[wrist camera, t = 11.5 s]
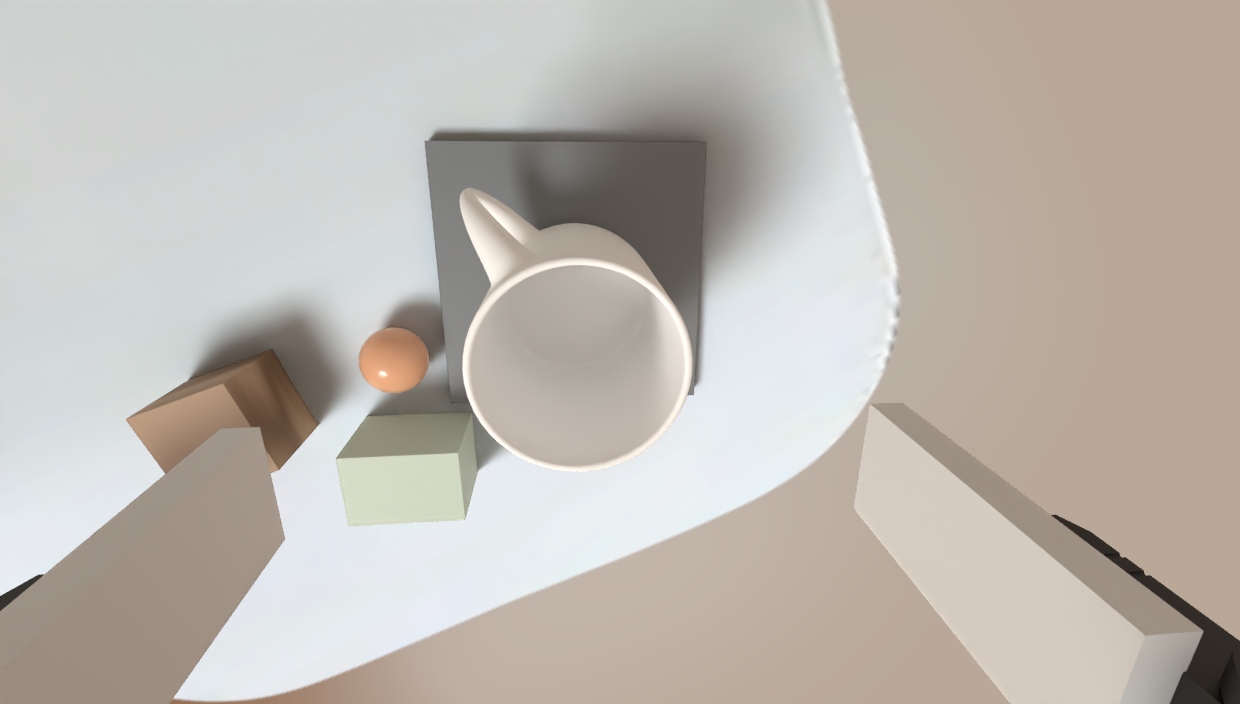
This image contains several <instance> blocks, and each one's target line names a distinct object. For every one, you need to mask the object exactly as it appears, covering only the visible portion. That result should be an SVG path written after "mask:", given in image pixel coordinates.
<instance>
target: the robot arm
mask: <svg viewBox="0 0 1240 704" xmlns="http://www.w3.org/2000/svg"><path fill="white" fill-rule="evenodd" d="M854 509H855V511H856V512H857V513H858V514H859V516H860V517H861V518H862V519H863V521H864V522H865V523H866V524H867V526H868V527H869V528H870V529H871V530H872V532H873V533H874V534H875V536H876V537H877V538H878V539H879V541H880V542H881V543H882V544H883V545H884V547H885V548H886V549H887V551H888V552H889V553H890V554H891V555H892V557H893V558H894V559H895V560H896V562H897V563H898V564H899V566H900V567H901V568H902V569H903V570H904V572H905V573H906V574H907V575H908V577H909V578H910V579H911V580H912V582H913V583H914V584H915V585H916V587H917V588H918V589H919V590H920V591H921V593H922V594H923V595H924V597H925V598H926V599H927V600H928V602H929V603H930V604H931V605H932V607H933V608H934V609H935V610H936V612H937V613H938V614H939V615H940V617H941V618H942V619H943V620H944V622H945V623H946V624H947V625H948V627H949V628H950V629H951V630H952V632H953V633H954V634H955V635H956V637H957V638H958V639H959V640H960V642H961V643H962V644H963V645H964V646H965V648H966V649H967V650H968V652H969V653H970V654H971V655H972V657H973V658H974V659H975V660H976V662H977V663H978V664H979V665H980V667H981V668H982V669H983V670H984V672H985V673H986V674H987V675H988V676H989V678H990V679H991V680H992V681H993V683H994V684H995V685H996V686H997V687H998V689H999V690H1000V691H1001V693H1002V694H1003V695H1004V696H1005V698H1006V699H1007V700H1008V701H1009V703H1010V704H1240V641H1239V640H1238V639H1236V638H1235V637H1234V636H1232V635H1231V634H1229V633H1228V632H1227V631H1225V630H1224V629H1223V628H1221V627H1220V626H1218V625H1217V624H1216V623H1214V622H1213V621H1212V620H1210V619H1209V618H1208V617H1206V616H1205V615H1203V614H1202V613H1201V612H1199V611H1198V610H1197V609H1195V608H1194V607H1193V606H1191V605H1190V604H1188V603H1187V602H1186V601H1184V600H1183V599H1181V598H1180V597H1179V596H1178V595H1176V594H1175V593H1173V592H1172V591H1171V590H1169V589H1168V588H1167V587H1165V586H1164V585H1163V584H1161V583H1160V582H1158V581H1157V580H1156V579H1154V578H1153V577H1152V576H1146V575H1145V574H1144V571H1143V570H1142V569H1141V568H1139V567H1138V566H1137V565H1135V564H1134V563H1132V562H1131V561H1130V560H1128V559H1127V558H1126V557H1125V558H1121V557H1120V554H1119V552H1117V551H1116V550H1115V549H1113V548H1112V547H1111V546H1109V545H1108V544H1106V543H1105V542H1104V541H1102V540H1101V539H1100V538H1098V537H1097V536H1095V535H1094V534H1093V533H1091V532H1090V531H1088V530H1086V529H1084V528H1082V527H1080V526H1078V525H1076V524H1073V523H1071V522H1069V521H1067V520H1065V519H1063V518H1061V517H1059V516H1057V515H1050V514H1049V513H1047V512H1046V511H1044V510H1043V509H1042V508H1041V507H1039V506H1038V505H1037V504H1035V503H1034V502H1033V501H1031V500H1030V499H1028V498H1027V497H1026V496H1024V495H1023V494H1022V493H1021V492H1020V491H1018V490H1017V489H1016V488H1014V487H1013V486H1011V485H1010V484H1009V483H1007V482H1006V481H1005V480H1004V479H1002V478H1001V477H1000V476H998V475H997V474H996V473H994V472H993V471H992V470H990V469H989V468H988V467H987V466H985V465H984V464H983V463H981V462H980V461H978V460H977V459H976V458H975V457H973V456H972V455H971V454H969V453H968V452H967V451H965V450H964V449H963V448H962V447H960V446H959V445H957V444H956V443H955V442H954V441H952V440H951V439H950V438H948V437H947V436H946V435H944V434H943V433H942V432H940V431H939V430H938V429H936V428H935V427H934V426H932V425H931V424H930V423H929V422H927V421H926V420H924V419H923V418H922V417H921V416H919V415H918V414H917V413H915V412H914V411H913V410H911V409H910V408H909V407H907V406H906V405H905V404H903V403H885V404H870V409H869V415H868V421H867V427H866V434H865V440H864V447H863V452H862V459H861V465H860V471H859V478H858V484H857V490H856V496H855V503H854ZM284 540H285V536H284V532H283V528H282V523H281V519H280V514H279V510H278V505H277V501H276V497H275V492H274V488H273V483H272V479H271V474H270V470H269V465H268V461H267V457H266V452H265V448H264V443H263V439H262V434H261V430H260V427H248V428H221V429H219V430H218V431H217V432H216V433H215V434H213V435H212V436H211V437H210V438H209V439H207V440H206V441H205V442H204V443H203V444H201V445H200V446H199V447H198V448H197V449H195V450H194V451H193V452H192V453H190V454H189V455H188V456H187V457H186V458H184V459H183V460H182V461H181V462H180V463H178V464H177V465H176V466H175V467H174V468H172V469H171V470H170V471H169V472H168V473H166V474H165V475H164V476H163V477H162V478H160V479H159V480H158V481H157V482H156V483H154V484H153V485H152V486H151V487H149V488H148V489H147V490H146V491H145V492H143V493H142V494H141V495H140V496H139V497H137V498H136V499H135V500H134V501H133V502H131V503H130V504H129V505H128V506H127V507H125V508H124V509H123V510H122V511H121V512H119V513H118V514H117V515H116V516H115V517H113V518H112V519H111V520H110V521H109V522H107V523H106V524H105V525H104V526H102V527H101V528H100V529H99V530H98V531H96V532H95V533H94V534H93V535H92V536H90V537H89V538H88V539H87V540H86V541H84V542H83V543H82V544H81V545H80V546H78V547H77V548H76V549H75V550H74V551H72V552H71V553H70V554H69V555H68V556H66V557H65V558H64V559H63V560H61V561H60V562H59V563H58V564H57V565H55V566H54V567H53V568H52V569H51V570H49V571H48V572H47V573H46V574H44V575H37V576H35V577H34V578H32V579H30V580H28V581H26V582H25V583H23V584H21V585H19V586H17V587H16V588H14V589H12V590H10V591H9V592H7V593H5V594H3V595H1V596H0V704H169V703H170V702H171V700H172V699H173V697H174V696H175V695H176V693H177V692H178V690H179V689H180V687H181V686H182V685H183V683H184V682H185V680H186V679H187V678H188V676H189V675H190V673H191V672H192V670H193V669H194V668H195V666H196V665H197V663H198V662H199V660H200V659H201V658H202V656H203V655H204V653H205V652H206V651H207V649H208V648H209V646H210V645H211V643H212V642H213V641H214V639H215V638H216V636H217V635H218V633H219V632H220V631H221V629H222V628H223V626H224V625H225V624H226V622H227V621H228V619H229V618H230V616H231V615H232V614H233V612H234V611H235V609H236V608H237V607H238V605H239V604H240V602H241V601H242V599H243V598H244V597H245V595H246V594H247V592H248V591H249V589H250V588H251V587H252V585H253V584H254V582H255V581H256V580H257V578H258V577H259V575H260V574H261V572H262V571H263V570H264V568H265V567H266V565H267V564H268V562H269V561H270V560H271V558H272V557H273V555H274V554H275V553H276V551H277V550H278V548H279V547H280V545H281V544H282V543H283V541H284Z"/></svg>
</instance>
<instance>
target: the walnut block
mask: <svg viewBox="0 0 1240 704" xmlns="http://www.w3.org/2000/svg"><path fill="white" fill-rule="evenodd" d="M126 421H127V422H128V424H129V425H130V426H131V428H132V429H133V430H134V432H135V433H136V434H137V436H138V437H139V438H140V440H141V441H142V443H143V444H144V445H145V447H146V448H147V449H148V451H149V452H150V453H151V455H152V456H153V457H154V459H155V460H156V461H157V463H158V464H159V466H160V467H161V468H162V470H163V471H164V472H165V474H166V473H168V472H169V471H170V470H171V469H172V468H174V467H175V466H176V465H177V464H178V463H180V462H181V461H182V460H183V459H184V458H186V457H187V456H188V455H189V454H190V453H192V452H193V451H194V450H195V449H197V448H198V447H199V446H200V445H201V444H203V443H204V442H205V441H206V440H207V439H209V438H210V437H211V436H212V435H213V434H215V433H216V432H217V431H218V430H219V429H221V428H248V427H260V430H261V434H262V439H263V443H264V448H265V452H266V457H267V461H268V465H269V470H270V473H272V472H275V471H277V470H279V469H280V468H281V467H282V466H283V465H284V464H285V463H286V462H287V460H288V459H289V458H290V457H291V456H292V455H293V454H294V452H295V451H296V450H297V449H298V448H299V447H300V446H301V444H302V443H303V442H304V441H305V440H306V439H307V438H308V437H309V435H310V434H311V433H312V432H313V431H314V430H315V429H316V427H317V426H318V424H317V423H316V421H315V420H314V418H313V416H312V415H311V413H310V411H309V410H308V408H307V406H306V405H305V403H304V401H303V400H302V398H301V396H300V395H299V393H298V391H297V390H296V388H295V386H294V385H293V383H292V381H291V380H290V378H289V377H288V375H287V373H286V372H285V370H284V368H283V367H282V365H281V363H280V362H279V360H278V358H277V357H276V355H275V353H274V352H273V350H272V349H271V350H269V351H266V352H263V353H261V354H258V355H255V356H253V357H250V358H247V359H244V360H242V361H239V362H236V363H234V364H231V365H228V366H226V367H223V368H220V369H217V370H215V371H212V372H209V373H207V374H204V375H201V376H198V377H196V378H193V379H190V380H188V381H186V382H185V383H183V384H182V385H180V386H178V387H177V388H175V389H174V390H172V391H170V392H169V393H167V394H166V395H164V396H162V397H161V398H159V399H158V400H156V401H154V402H153V403H151V404H150V405H148V406H146V407H145V408H143V409H142V410H140V411H138V412H137V413H135V414H133V415H132V416H130V417H129V418H127V419H126Z"/></svg>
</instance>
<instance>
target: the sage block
mask: <svg viewBox="0 0 1240 704" xmlns="http://www.w3.org/2000/svg"><path fill="white" fill-rule="evenodd" d="M336 463H337V468H338V474H339V479H340V484H341V490H342V495H343V500H344V506H345V511H346V516H347V522H348V526H360V525H378V524H396V523H414V522H432V521H450V520H465V518H466V514H467V511H468V507H469V503H470V499H471V495H472V492H473V488H474V484H475V480H476V476H477V473H478V467H477V457H476V446H475V436H474V425H473V415H472V412H453V413H428V414H404V415H380V416H367V417H366V418H365V419H364V421H363V422H362V423H361V425H360V426H359V428H358V429H357V430H356V432H355V433H354V434H353V436H352V437H351V438H350V440H349V441H348V443H347V444H346V445H345V447H344V448H343V449H342V451H341V452H340V454H339V455H338V456H337V458H336Z"/></svg>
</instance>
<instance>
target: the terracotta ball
mask: <svg viewBox="0 0 1240 704" xmlns="http://www.w3.org/2000/svg"><path fill="white" fill-rule="evenodd" d="M428 367H429V354H428V350H427V348H426V346H425V344H424V342H423V341H422V340H421V339H420V338H419V337H418V336H417V335H416V334H415V333H413V332H411V331H409V330H407V329H403V328H397V327H391V328H385V329H382V330H379V331H377V332H375V333H374V334H372V335H371V336H370V337H369V338H368V339H367V340H366V341H365V342H364V344H363V345H362V347H361V350H360V353H359V368H360V371H361V374H362V375H363V377H364V379H365V380H366V381H367V382H368V383H369V384H370V385H371V386H372V387H374V388H376V389H377V390H380V391H383V392H386V393H401V392H405V391H408V390H410V389H412V388H414V387H415V386H416V385H418V384H419V383H420V382H421V381H422V379H423V378H424V376H425V375H426V373H427V370H428Z"/></svg>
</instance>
